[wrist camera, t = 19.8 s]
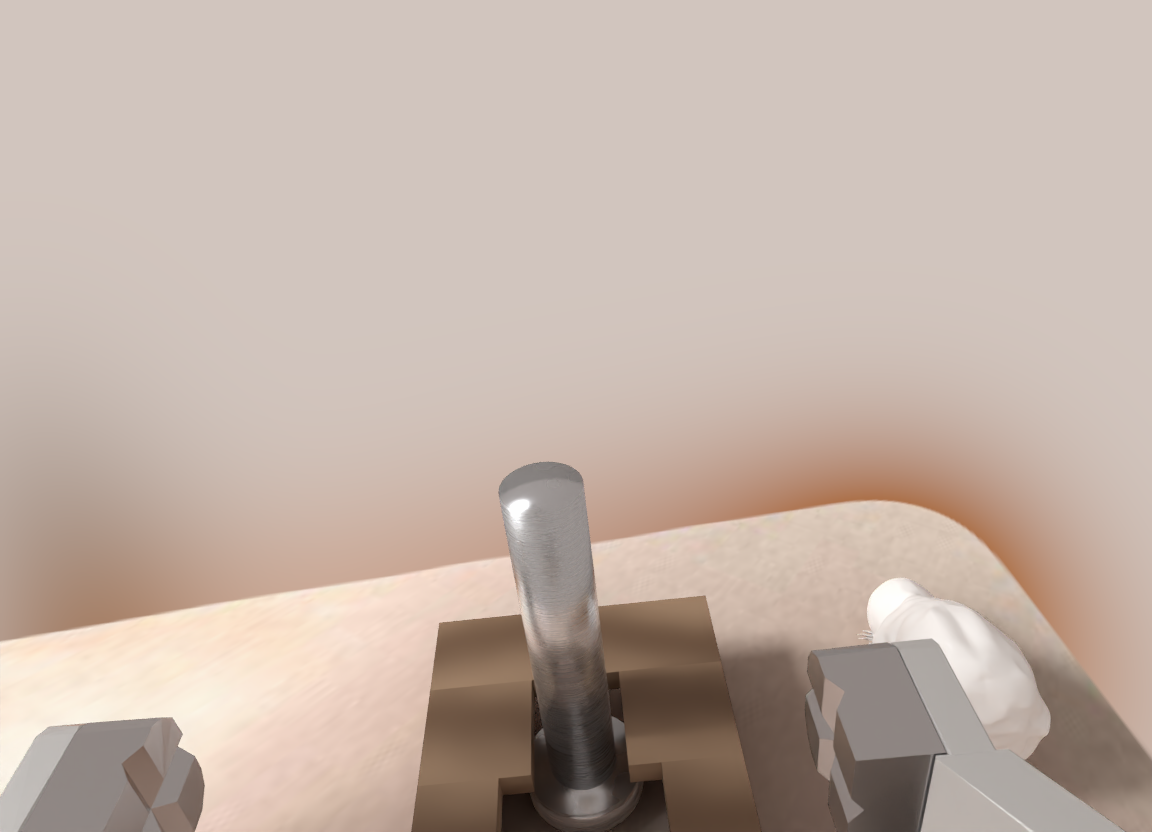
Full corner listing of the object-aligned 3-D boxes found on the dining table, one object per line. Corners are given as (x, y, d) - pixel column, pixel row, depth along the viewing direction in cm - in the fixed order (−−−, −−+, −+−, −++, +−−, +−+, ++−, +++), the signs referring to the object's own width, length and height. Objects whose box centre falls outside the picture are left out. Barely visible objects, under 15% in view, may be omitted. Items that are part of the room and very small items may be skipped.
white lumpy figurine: (912, 684, 33) (838, 516, 44) (896, 828, 37) (832, 641, 48) (1077, 676, 33) (962, 508, 44) (1044, 822, 37) (945, 635, 48)
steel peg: (512, 819, 40) (441, 525, 30) (551, 721, 44) (500, 438, 35) (626, 847, 38) (590, 545, 28) (655, 743, 42) (631, 451, 33)
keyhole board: (797, 1069, 30) (802, 1004, 28) (413, 1104, 31) (383, 1043, 28) (707, 661, 46) (705, 595, 44) (456, 686, 47) (439, 622, 44)
